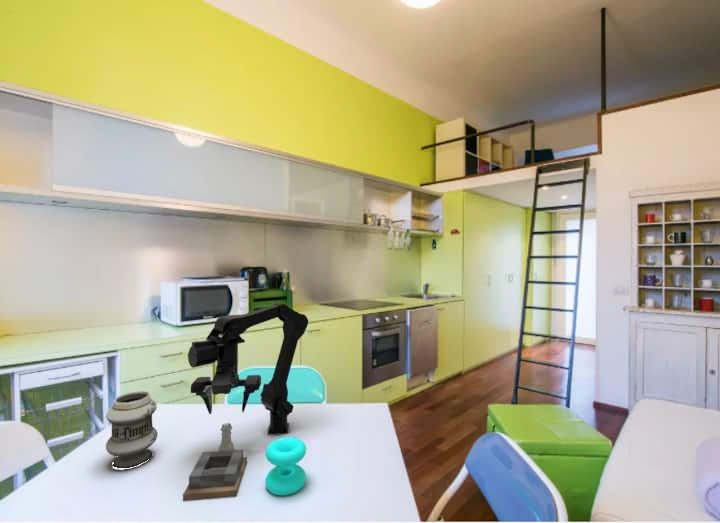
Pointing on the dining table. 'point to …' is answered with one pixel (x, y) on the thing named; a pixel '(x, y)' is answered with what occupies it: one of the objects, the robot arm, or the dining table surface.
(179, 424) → the dining table surface
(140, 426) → the apothecary jar
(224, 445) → the rook chess piece
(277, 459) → the donuts
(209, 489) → the socket board
